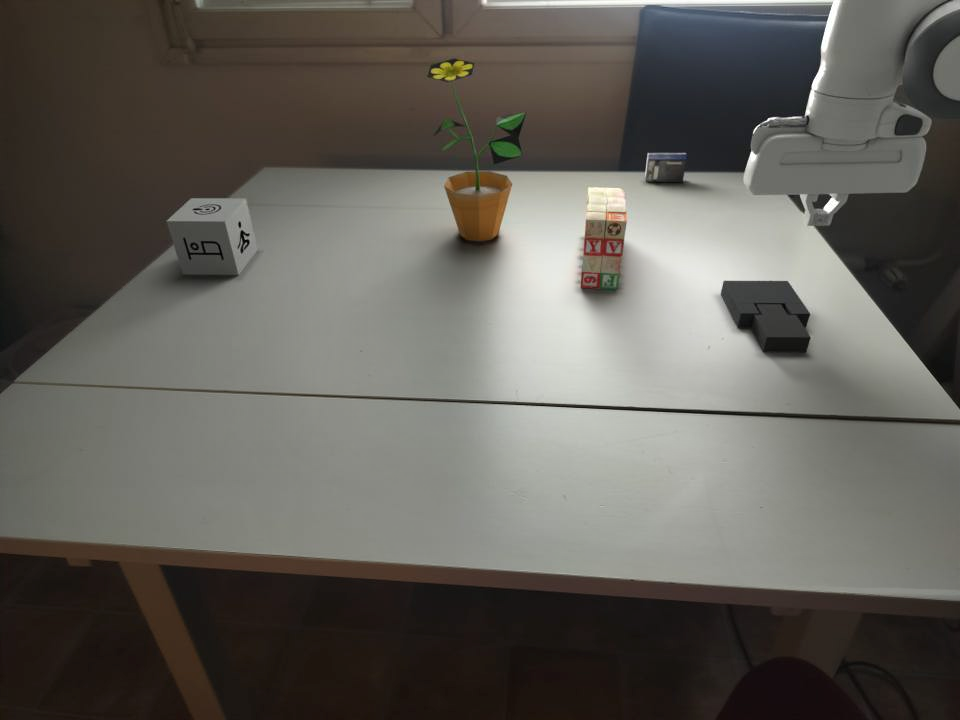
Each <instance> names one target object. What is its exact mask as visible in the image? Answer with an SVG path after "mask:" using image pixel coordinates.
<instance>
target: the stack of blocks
mask: <svg viewBox="0 0 960 720" xmlns="http://www.w3.org/2000/svg"><path fill="white" fill-rule="evenodd" d="M625 193H626V192H625V190H623V189H622V188H620V187H587V196H586V209H585V210H586V211H585V226H584V237H583V251H582V252H583V253H582V255H583V257H582V264H581V275H580V288H581V289H593V290H595V289H596V290H599V289H600V290H613V291H618V290H619V285H620V278H621V267H622V259H623V255H624V246H625V236H626V230H627V223H628V220H627V219H628V217H627V201H626V194H625Z"/></svg>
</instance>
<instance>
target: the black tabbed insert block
mask: <svg viewBox="0 0 960 720" xmlns="http://www.w3.org/2000/svg"><path fill="white" fill-rule="evenodd" d="M756 308H757V310H758V312H759V315H754V318H753V322H752V326H751V328H750V330H751V332H752V334H753V336H754V338H755V339H756V342H757V343H758V345H759V347H760V349H761V351H762V352H763V353H807V351H808V348H809V345H810V342H811V339H812V337H811V335H810V333H809V332H808V331H807V328H804V326H803V325H802V323H801V321H800V320H799V318H798V317H797V315H787V313H786V311H785V310H784V308H783V307H782V305H781V304H757V305H756Z"/></svg>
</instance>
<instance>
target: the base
mask: <svg viewBox="0 0 960 720" xmlns="http://www.w3.org/2000/svg"><path fill="white" fill-rule="evenodd" d="M721 286H722V287H721V290H720V296H721V298H722V300H723V302H724V304H725V305H726V308H727V310H728V312H729V314H730V316H731V318H732V319H733V321H734V324H735V325H736V328H742V329H743V328H744V329H745V328H748V329H751V326H752V322H753V318H754V315H759V312H758V310H757V308H756V305H757V304H781V305H782V307H783V308H784V310H785V311H786V313H787V315H797V317H798V318H799V320H800V321H801V323H802V325H803V326H804V328H805V329H807V326H808V323H809V320H810V317H811V312H810V311H809V310H808V308H807V306H806V305H805V303H804V302H803V301H802V299H801V298H800V296H799V295H798V294H797V292H796V291H795V289H794V288H793V286H792V284H791V283H790V282H789V281H788V280H723V282H722V285H721Z"/></svg>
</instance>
